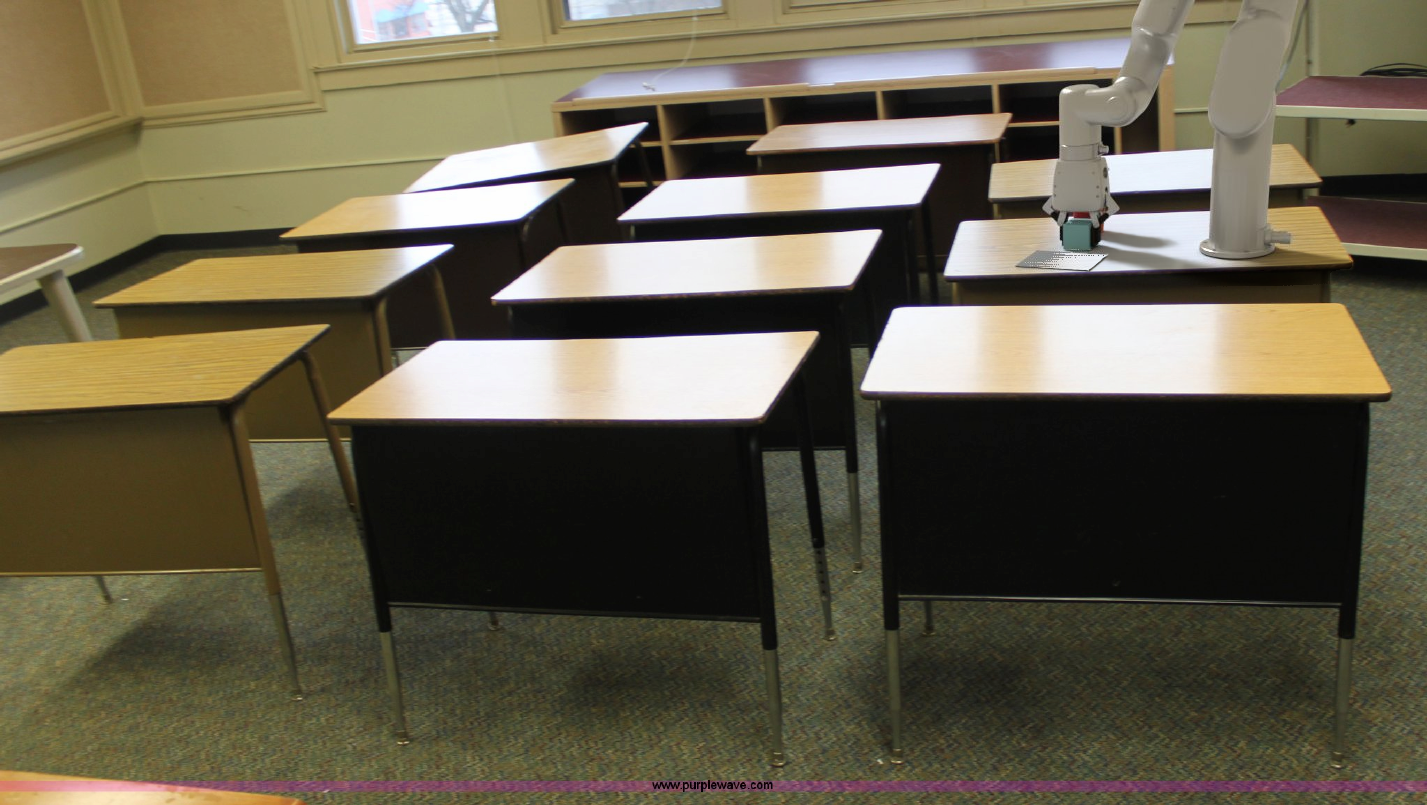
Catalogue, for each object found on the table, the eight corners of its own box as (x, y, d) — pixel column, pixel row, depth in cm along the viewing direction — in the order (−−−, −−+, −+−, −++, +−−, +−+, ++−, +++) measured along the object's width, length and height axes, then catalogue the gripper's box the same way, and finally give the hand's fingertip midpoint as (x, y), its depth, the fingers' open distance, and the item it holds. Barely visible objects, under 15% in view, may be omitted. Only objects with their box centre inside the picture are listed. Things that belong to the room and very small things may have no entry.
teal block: (1097, 243, 222) (1097, 219, 220) (1088, 250, 219) (1088, 225, 217) (1072, 242, 225) (1072, 218, 223) (1063, 249, 222) (1063, 224, 220)
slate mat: (1108, 255, 215) (1108, 254, 215) (1088, 271, 207) (1088, 270, 207) (1036, 251, 223) (1036, 250, 223) (1015, 266, 215) (1015, 265, 215)
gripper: (1131, 148, 213) (1130, 242, 220) (1044, 148, 223) (1045, 238, 230) (1119, 156, 207) (1117, 252, 214) (1029, 156, 217) (1031, 248, 224)
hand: (1080, 244), depth 222 cm, fingers closed on teal block, 4 cm apart
